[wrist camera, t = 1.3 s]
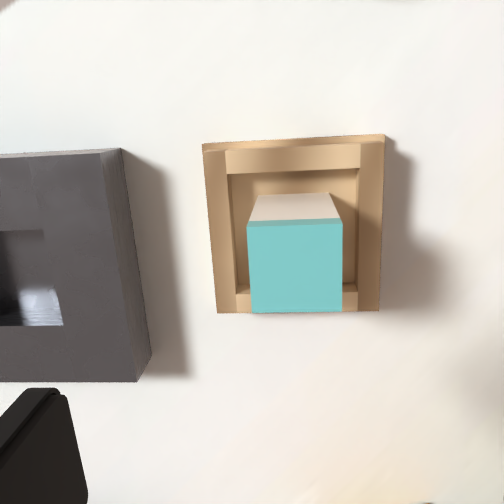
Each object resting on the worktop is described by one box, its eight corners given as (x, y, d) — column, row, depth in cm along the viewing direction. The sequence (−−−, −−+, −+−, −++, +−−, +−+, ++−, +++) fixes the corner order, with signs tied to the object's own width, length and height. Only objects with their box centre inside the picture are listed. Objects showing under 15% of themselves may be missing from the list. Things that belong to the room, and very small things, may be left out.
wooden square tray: (382, 133, 24) (391, 136, 22) (376, 299, 27) (383, 315, 25) (204, 143, 25) (196, 146, 23) (218, 301, 28) (212, 318, 26)
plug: (328, 192, 25) (342, 223, 18) (328, 259, 26) (342, 311, 19) (258, 195, 25) (246, 226, 18) (261, 260, 26) (251, 312, 20)
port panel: (120, 147, 26) (99, 152, 23) (151, 356, 30) (137, 382, 27) (-98, 159, 27) (-143, 165, 24) (-38, 357, 31) (-71, 381, 28)
